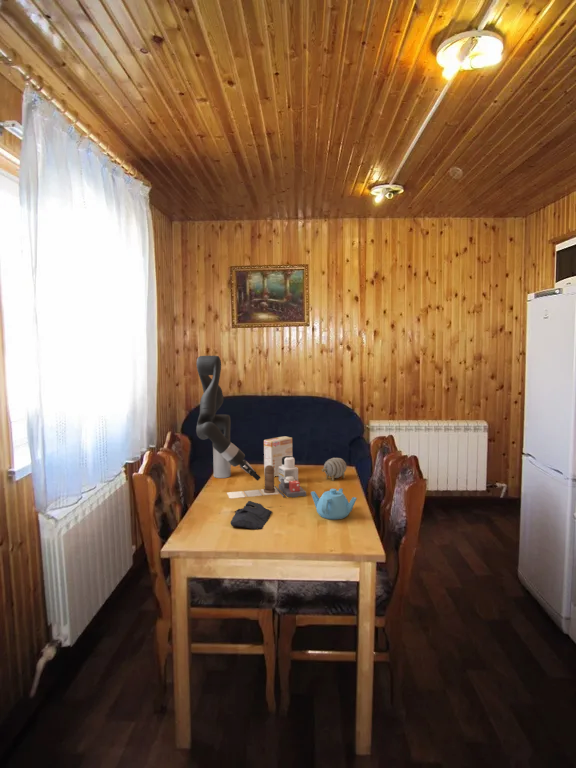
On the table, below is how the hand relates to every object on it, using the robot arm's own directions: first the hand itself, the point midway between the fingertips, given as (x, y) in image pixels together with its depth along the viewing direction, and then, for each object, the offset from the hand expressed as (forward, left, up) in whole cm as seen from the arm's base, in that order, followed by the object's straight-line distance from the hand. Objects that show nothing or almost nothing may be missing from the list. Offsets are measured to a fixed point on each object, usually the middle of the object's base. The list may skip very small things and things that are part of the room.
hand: (257, 476), depth 226 cm
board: (0, -2, -9) cm, 9 cm away
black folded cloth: (+29, -9, -10) cm, 32 cm away
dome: (-4, +17, -7) cm, 19 cm away
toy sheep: (-15, +44, -9) cm, 48 cm away
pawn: (0, +6, -8) cm, 10 cm away
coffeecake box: (-33, +19, -9) cm, 39 cm away
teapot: (+34, +25, -9) cm, 43 cm away
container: (-17, +20, -9) cm, 28 cm away
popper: (0, +17, -9) cm, 19 cm away
